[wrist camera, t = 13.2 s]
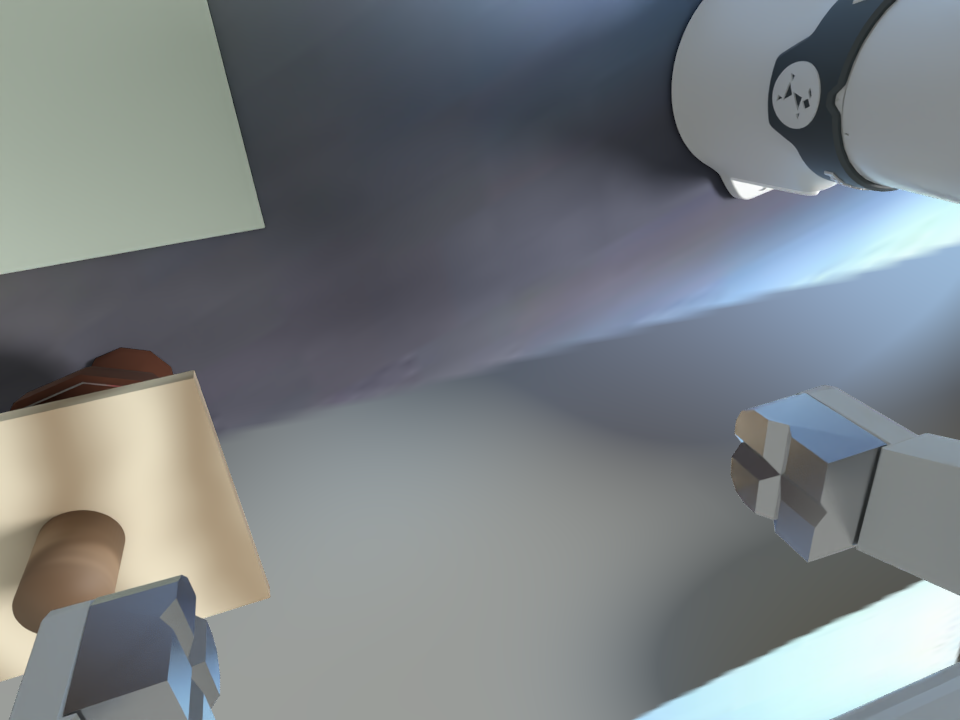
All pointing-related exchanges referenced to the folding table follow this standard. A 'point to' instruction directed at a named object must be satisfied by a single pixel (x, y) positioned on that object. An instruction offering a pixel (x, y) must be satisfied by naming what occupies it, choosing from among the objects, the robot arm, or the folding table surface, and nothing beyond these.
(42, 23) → the lid mat
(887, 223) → the folding table surface
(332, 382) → the folding table surface
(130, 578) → the lid
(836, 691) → the folding table surface
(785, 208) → the folding table surface
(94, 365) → the ice cream bowl
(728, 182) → the robot arm
